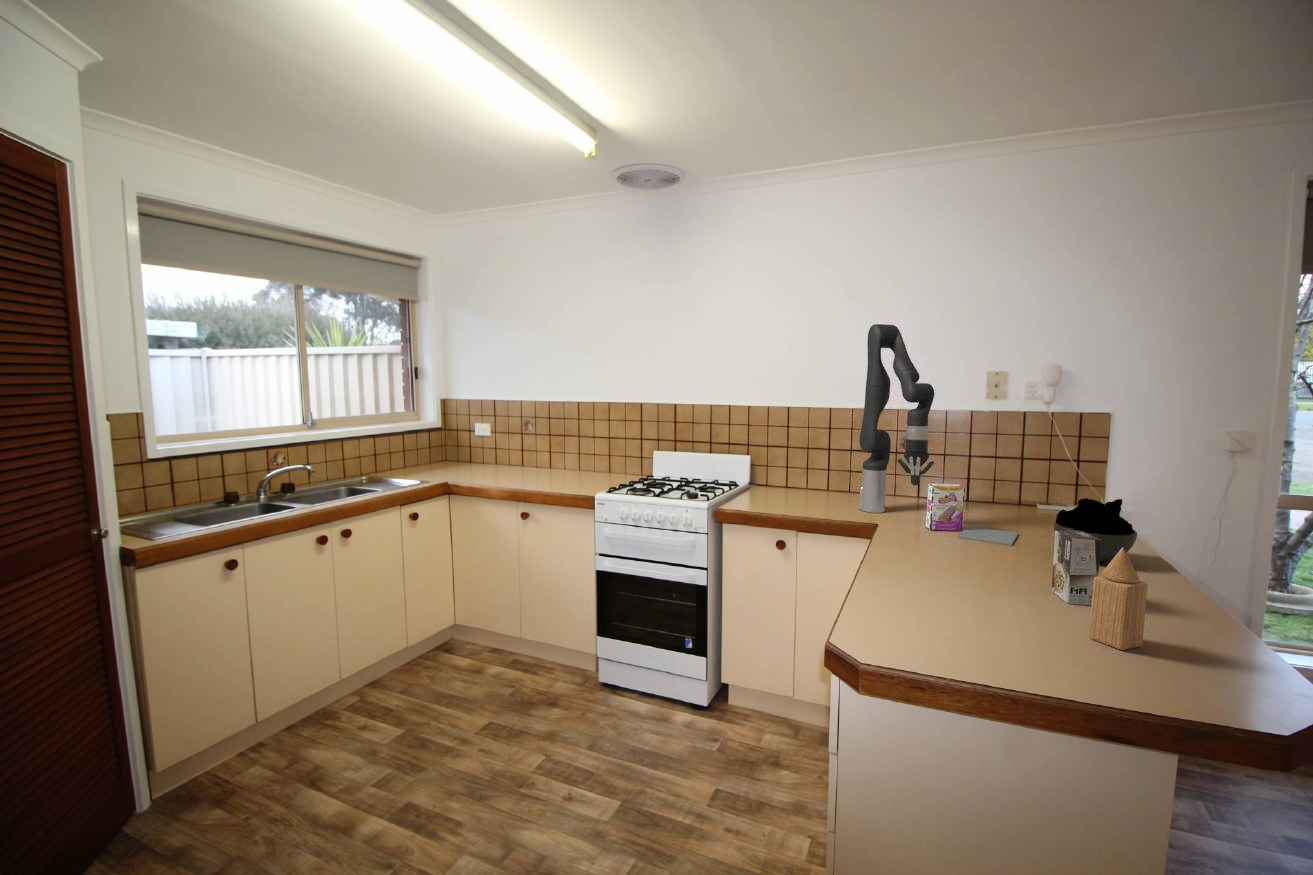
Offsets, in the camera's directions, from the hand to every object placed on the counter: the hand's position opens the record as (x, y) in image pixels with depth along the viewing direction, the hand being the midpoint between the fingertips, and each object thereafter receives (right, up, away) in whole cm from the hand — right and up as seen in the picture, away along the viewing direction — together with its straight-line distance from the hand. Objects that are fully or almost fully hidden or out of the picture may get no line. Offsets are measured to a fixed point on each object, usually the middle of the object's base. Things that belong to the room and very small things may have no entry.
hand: (915, 485), depth 217 cm
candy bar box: (+8, -16, -5) cm, 18 cm away
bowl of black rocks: (+35, -19, -40) cm, 57 cm away
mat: (+19, -17, -13) cm, 29 cm away
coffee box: (+7, -22, -72) cm, 75 cm away
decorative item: (-1, -25, -96) cm, 99 cm away
